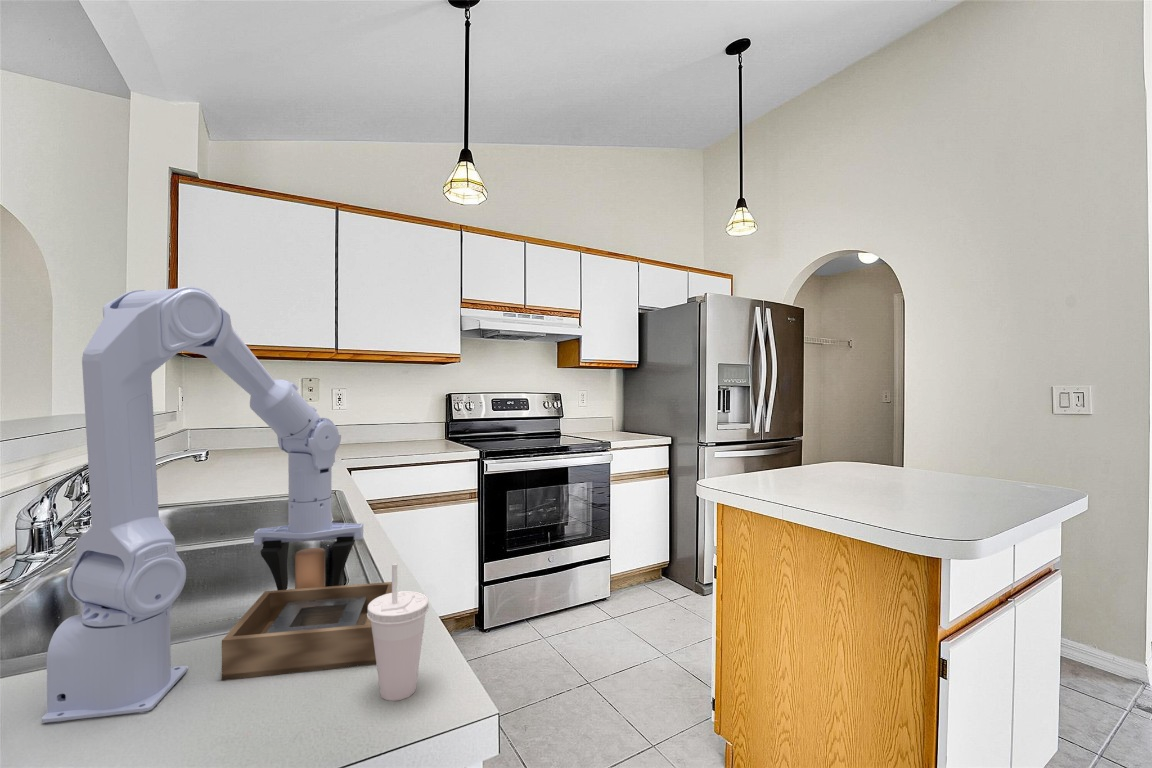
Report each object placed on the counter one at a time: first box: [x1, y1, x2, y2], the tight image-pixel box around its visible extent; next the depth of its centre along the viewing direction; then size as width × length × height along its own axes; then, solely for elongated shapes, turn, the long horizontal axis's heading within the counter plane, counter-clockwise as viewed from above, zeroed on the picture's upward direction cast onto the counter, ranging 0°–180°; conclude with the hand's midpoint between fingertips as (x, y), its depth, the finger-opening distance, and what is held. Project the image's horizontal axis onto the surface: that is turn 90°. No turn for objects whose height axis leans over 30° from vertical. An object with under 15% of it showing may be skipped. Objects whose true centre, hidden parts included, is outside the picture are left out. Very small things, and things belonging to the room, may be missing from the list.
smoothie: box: [367, 562, 430, 702], centre depth 58 cm, size 6×6×14 cm
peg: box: [294, 547, 326, 589], centre depth 80 cm, size 4×4×8 cm
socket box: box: [221, 581, 392, 681], centre depth 69 cm, size 17×14×4 cm
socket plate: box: [266, 596, 367, 633], centre depth 69 cm, size 10×10×3 cm
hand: (310, 589), depth 80 cm, fingers open, 7 cm apart
